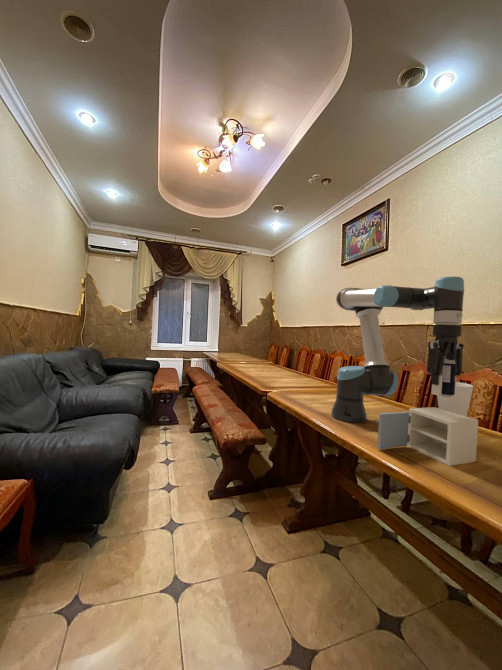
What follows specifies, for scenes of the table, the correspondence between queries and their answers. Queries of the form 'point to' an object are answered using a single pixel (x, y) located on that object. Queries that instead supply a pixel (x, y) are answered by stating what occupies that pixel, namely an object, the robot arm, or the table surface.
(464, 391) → the cup
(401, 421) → the door
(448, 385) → the beverage can
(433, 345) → the robot arm
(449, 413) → the cabinet
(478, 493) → the table surface
